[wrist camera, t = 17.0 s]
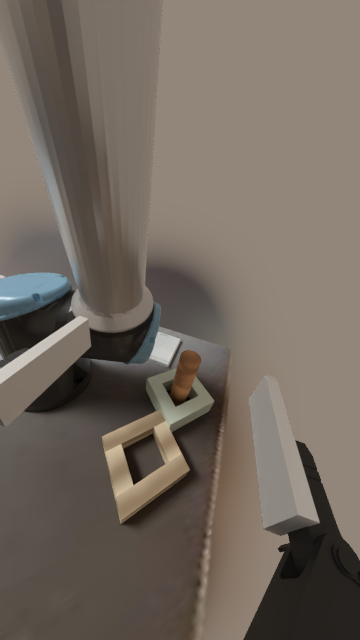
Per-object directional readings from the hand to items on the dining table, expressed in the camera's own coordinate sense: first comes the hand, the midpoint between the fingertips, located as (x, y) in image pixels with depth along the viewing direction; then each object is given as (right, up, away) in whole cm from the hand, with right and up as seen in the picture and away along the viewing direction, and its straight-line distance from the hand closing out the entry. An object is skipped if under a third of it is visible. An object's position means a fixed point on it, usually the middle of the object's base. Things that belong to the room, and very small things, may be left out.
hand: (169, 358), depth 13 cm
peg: (0, -16, +28) cm, 32 cm away
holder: (-6, -21, +18) cm, 28 cm away
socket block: (0, -16, +28) cm, 32 cm away
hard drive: (-5, -7, +42) cm, 42 cm away
